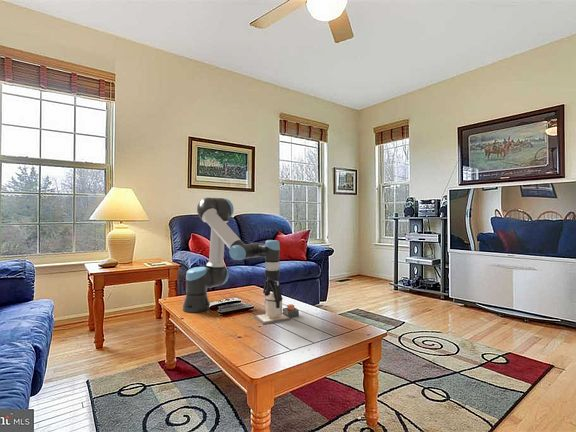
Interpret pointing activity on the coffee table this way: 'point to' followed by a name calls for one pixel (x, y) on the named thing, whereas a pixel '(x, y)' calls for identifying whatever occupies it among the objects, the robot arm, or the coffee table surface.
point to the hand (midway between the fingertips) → (272, 310)
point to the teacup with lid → (271, 306)
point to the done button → (290, 307)
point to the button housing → (291, 312)
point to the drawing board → (271, 318)
